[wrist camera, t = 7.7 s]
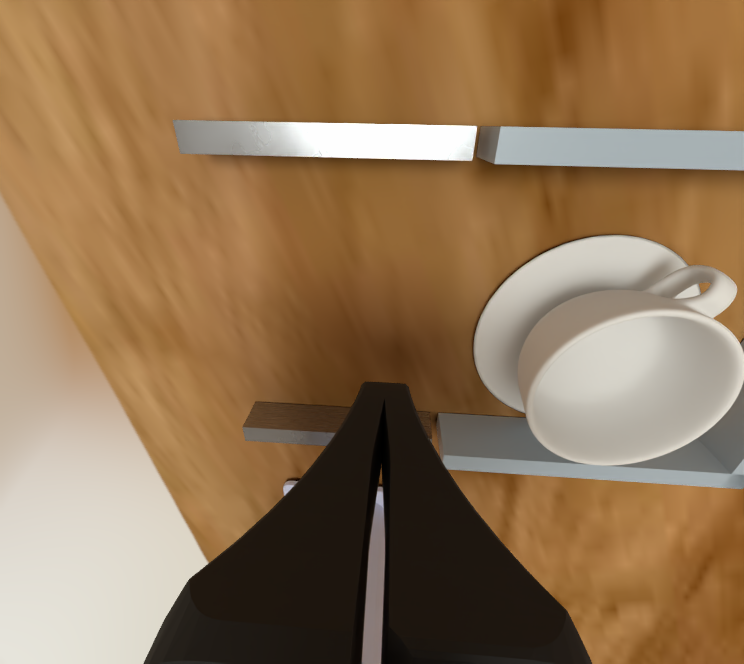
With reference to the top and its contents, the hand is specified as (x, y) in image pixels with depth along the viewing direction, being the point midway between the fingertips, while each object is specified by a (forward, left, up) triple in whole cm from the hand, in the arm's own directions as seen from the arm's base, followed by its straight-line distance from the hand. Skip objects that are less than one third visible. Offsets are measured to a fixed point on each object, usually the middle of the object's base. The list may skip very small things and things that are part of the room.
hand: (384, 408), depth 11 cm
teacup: (-1, -9, -7) cm, 12 cm away
